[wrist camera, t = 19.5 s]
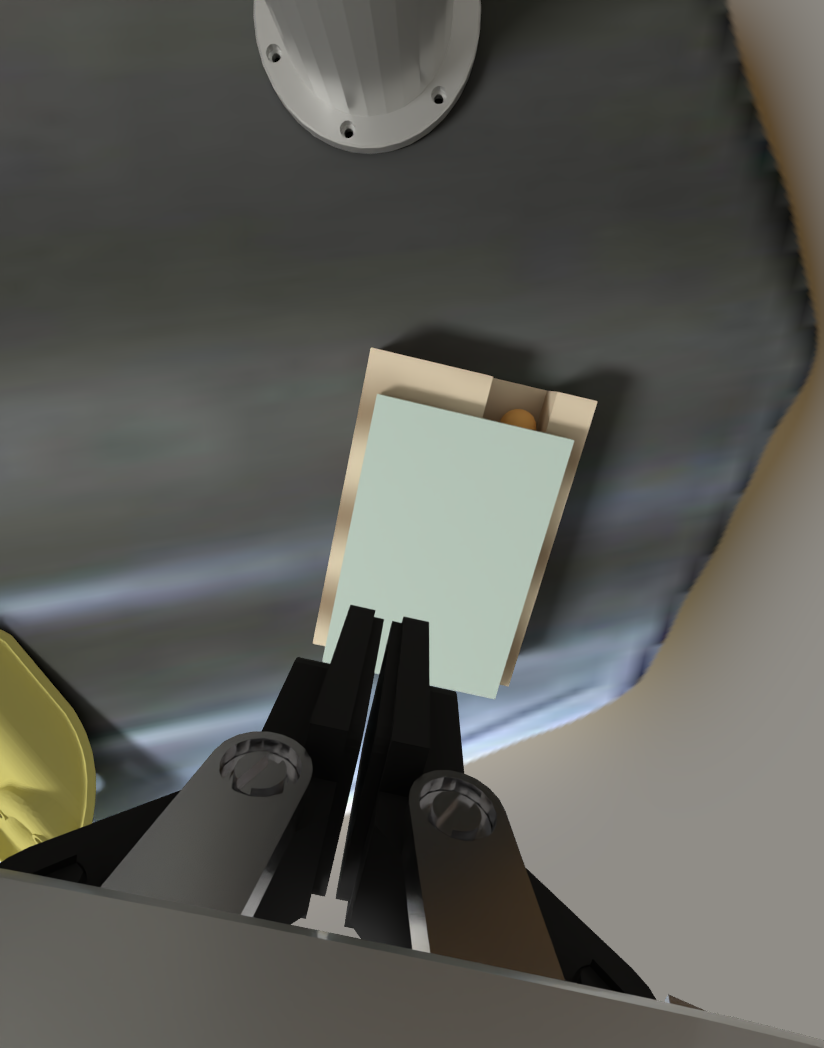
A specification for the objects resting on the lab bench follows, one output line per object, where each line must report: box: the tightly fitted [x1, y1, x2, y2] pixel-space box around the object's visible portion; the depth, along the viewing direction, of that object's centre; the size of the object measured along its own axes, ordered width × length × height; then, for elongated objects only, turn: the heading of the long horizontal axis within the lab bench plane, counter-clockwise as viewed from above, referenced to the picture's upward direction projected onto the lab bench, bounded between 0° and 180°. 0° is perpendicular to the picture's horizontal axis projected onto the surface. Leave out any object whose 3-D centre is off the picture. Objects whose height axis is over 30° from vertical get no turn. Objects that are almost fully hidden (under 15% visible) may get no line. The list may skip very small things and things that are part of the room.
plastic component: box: [0, 630, 96, 862], centre depth 42 cm, size 20×7×10 cm
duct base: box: [313, 348, 598, 686], centre depth 36 cm, size 20×14×4 cm
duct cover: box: [322, 394, 574, 699], centre depth 34 cm, size 18×12×1 cm, turn 167°
